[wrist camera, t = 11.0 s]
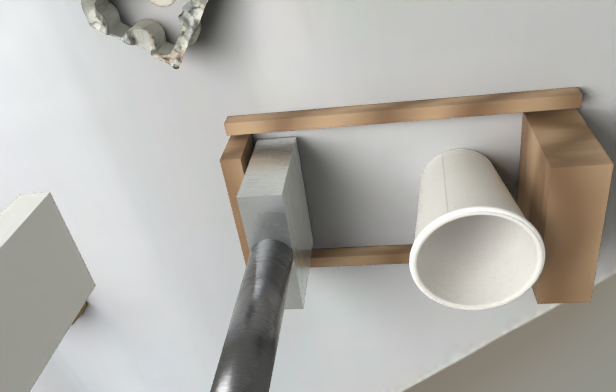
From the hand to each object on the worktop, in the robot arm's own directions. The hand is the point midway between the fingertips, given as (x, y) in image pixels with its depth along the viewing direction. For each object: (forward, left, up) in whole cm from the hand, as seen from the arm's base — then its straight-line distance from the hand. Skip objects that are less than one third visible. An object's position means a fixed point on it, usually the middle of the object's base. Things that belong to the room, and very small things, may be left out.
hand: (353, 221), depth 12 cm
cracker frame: (-1, +18, -29) cm, 34 cm away
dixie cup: (-6, +18, -30) cm, 35 cm away
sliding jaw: (+8, +18, -29) cm, 35 cm away
